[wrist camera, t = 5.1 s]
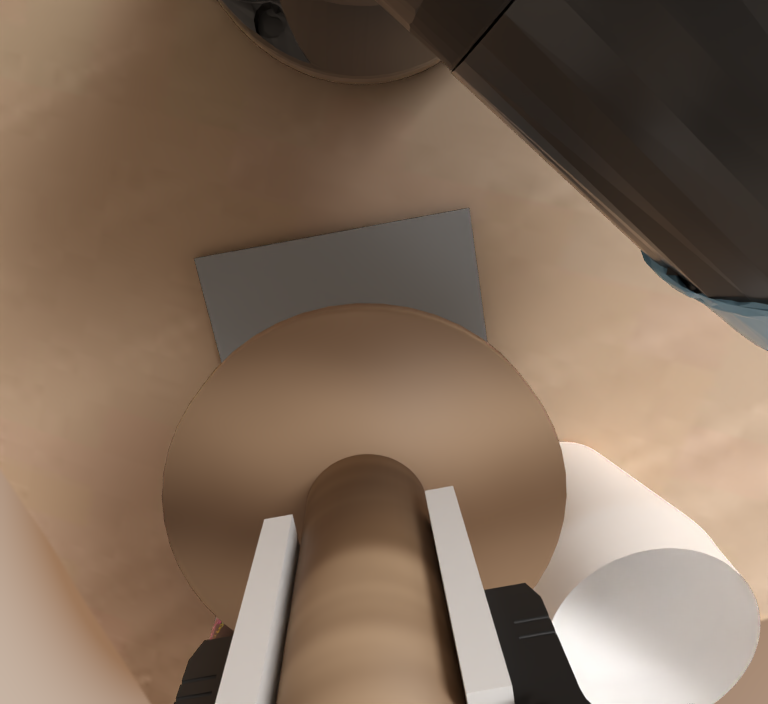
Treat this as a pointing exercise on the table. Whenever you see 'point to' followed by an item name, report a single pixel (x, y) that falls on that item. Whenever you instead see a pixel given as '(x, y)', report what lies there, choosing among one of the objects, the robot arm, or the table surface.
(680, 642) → the cup
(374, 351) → the lid
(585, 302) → the table surface
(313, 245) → the mat
